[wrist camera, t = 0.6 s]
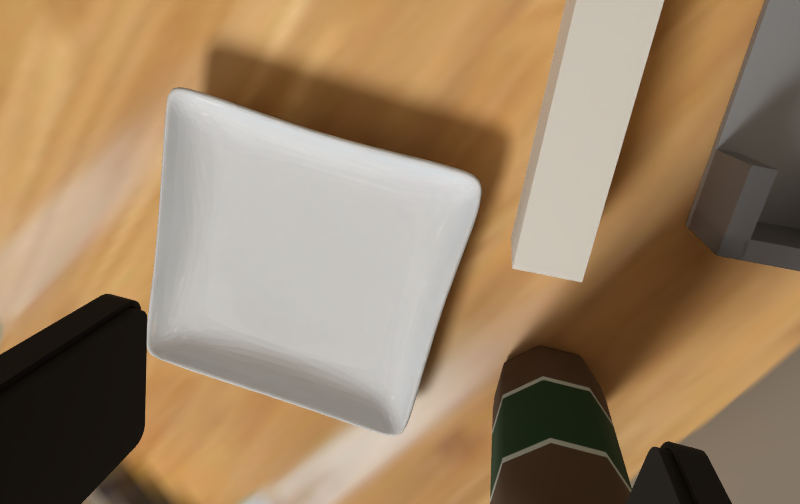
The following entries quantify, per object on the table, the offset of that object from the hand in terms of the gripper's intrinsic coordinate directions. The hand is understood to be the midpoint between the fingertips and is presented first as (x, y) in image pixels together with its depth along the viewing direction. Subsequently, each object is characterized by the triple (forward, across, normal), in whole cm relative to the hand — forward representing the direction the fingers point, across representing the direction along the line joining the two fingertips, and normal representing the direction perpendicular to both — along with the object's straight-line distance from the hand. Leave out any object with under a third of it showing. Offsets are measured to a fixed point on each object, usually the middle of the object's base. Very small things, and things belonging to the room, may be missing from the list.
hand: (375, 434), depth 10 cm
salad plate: (+29, +10, +10) cm, 32 cm away
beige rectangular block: (+28, -6, -4) cm, 29 cm away
